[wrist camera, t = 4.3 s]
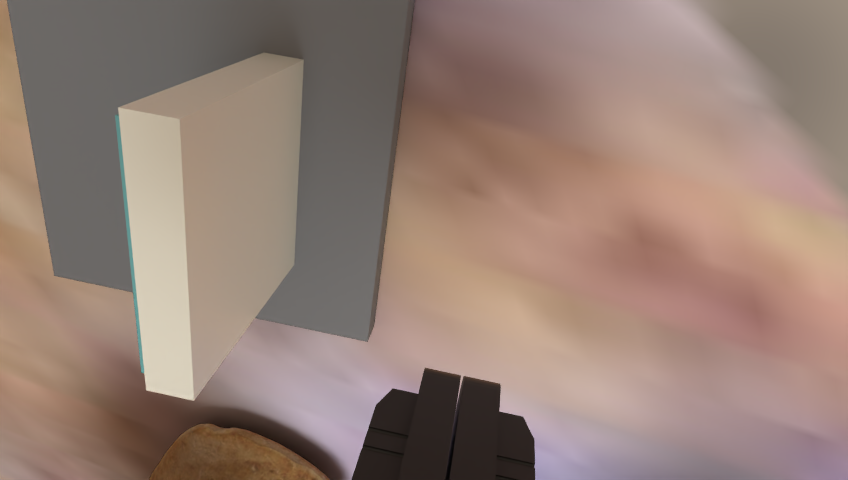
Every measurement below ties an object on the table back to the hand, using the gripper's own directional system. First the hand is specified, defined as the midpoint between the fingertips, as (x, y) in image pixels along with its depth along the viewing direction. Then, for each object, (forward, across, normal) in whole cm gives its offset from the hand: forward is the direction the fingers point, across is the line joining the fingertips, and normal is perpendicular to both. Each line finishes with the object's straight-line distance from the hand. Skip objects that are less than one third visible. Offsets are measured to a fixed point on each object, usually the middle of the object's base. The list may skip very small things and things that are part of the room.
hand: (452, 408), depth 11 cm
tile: (+11, +8, 0) cm, 13 cm away
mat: (+12, +11, 0) cm, 16 cm away
